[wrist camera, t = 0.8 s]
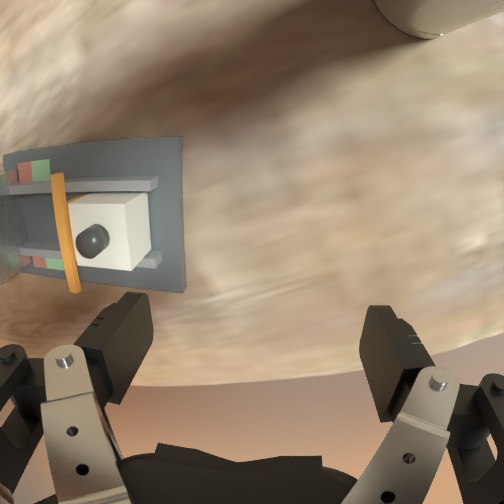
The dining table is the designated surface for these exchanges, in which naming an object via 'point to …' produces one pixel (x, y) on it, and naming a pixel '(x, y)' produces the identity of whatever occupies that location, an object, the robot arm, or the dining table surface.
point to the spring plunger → (110, 229)
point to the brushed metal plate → (11, 228)
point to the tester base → (106, 179)
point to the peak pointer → (65, 230)
